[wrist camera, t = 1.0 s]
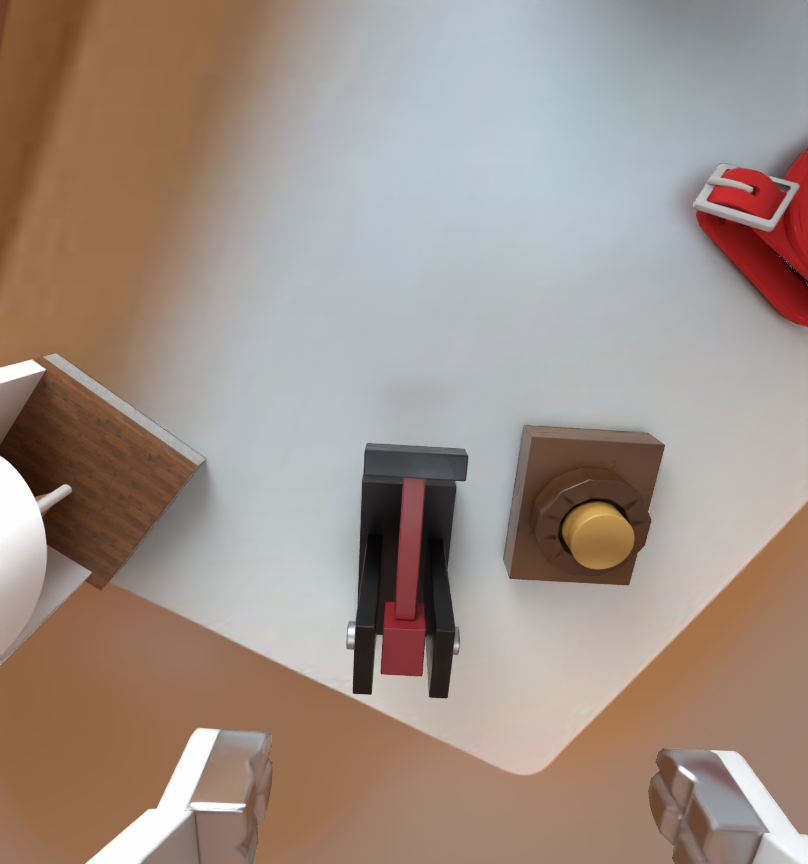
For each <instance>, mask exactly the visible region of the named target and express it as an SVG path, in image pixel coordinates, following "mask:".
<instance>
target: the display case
mask: <svg viewBox="0 0 808 864" xmlns="http://www.w3.org/2000/svg"><path fill="white" fill-rule="evenodd" d="M204 460H205V458H204V457H202V456H201V455H199V454H198V453H197V452H195V451H194V450H192V449H191V448H189V447H188V446H187V445H185V444H184V443H182V442H181V441H180V440H178V439H177V438H175V437H174V436H173V435H171V434H170V433H168V432H167V431H165V430H164V429H163V428H161V427H160V426H158V425H157V424H156V423H154V422H153V421H151V420H150V419H148V418H147V417H146V416H144V415H143V414H141V413H140V412H139V411H137V410H136V409H134V408H133V407H132V406H130V405H129V404H127V403H126V402H124V401H123V400H122V399H120V398H119V397H117V396H116V395H115V394H113V393H112V392H110V391H109V390H107V389H106V388H105V387H103V386H102V385H100V384H99V383H98V382H96V381H95V380H93V379H92V378H91V377H89V376H88V375H86V374H85V373H83V372H82V371H81V370H79V369H78V368H76V367H75V366H74V365H72V364H71V363H69V362H68V361H67V360H65V359H64V358H62V357H61V356H59V355H58V354H57V353H56V354H52V355H48V356H44V357H41V358H37V359H33V360H29V361H25V362H21V363H17V364H13V365H9V366H6V367H2V368H0V665H1V664H2V663H3V662H4V661H5V660H6V659H7V658H8V657H9V656H10V655H11V654H12V653H13V652H14V651H15V650H16V649H17V648H18V647H19V646H20V645H21V644H22V643H23V642H24V641H25V640H26V639H27V638H28V637H29V636H30V635H31V634H33V633H34V631H36V630H37V629H38V627H40V626H41V624H43V622H45V621H46V620H47V619H48V618H49V617H50V616H51V614H53V612H55V611H56V610H57V609H58V608H59V607H60V606H61V605H62V604H63V602H65V601H66V600H67V599H68V598H69V597H70V596H71V595H72V594H73V593H74V592H75V591H76V590H77V589H78V588H79V587H80V586H81V585H82V584H83V583H84V582H85V581H86V582H88V583H90V584H91V585H93V586H95V587H96V588H98V589H100V590H102V589H103V588H104V587H105V586H106V585H107V584H108V583H109V581H110V580H111V579H112V578H113V577H114V576H115V575H116V574H117V573H118V572H119V570H120V569H121V568H122V567H123V565H124V564H125V563H126V561H127V560H128V559H129V557H130V556H131V555H132V554H133V552H134V551H135V550H136V548H137V547H138V546H139V544H140V543H141V542H142V541H143V539H144V538H145V537H146V535H147V534H148V533H149V531H150V530H151V529H152V528H153V526H154V525H155V524H156V522H157V521H158V520H159V519H160V517H161V516H162V515H163V513H164V512H165V511H166V509H167V508H168V507H169V506H170V504H171V503H172V502H173V500H174V499H175V498H176V496H177V495H178V494H179V493H180V491H181V490H182V489H183V487H184V486H185V485H186V483H187V482H188V481H189V480H190V478H191V477H192V476H193V474H194V473H195V472H196V471H197V469H198V468H199V467H200V465H201V464H202V463H203V461H204Z"/></svg>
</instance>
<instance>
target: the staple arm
mask: <svg viewBox="0 0 808 864" xmlns="http://www.w3.org/2000/svg"><path fill="white" fill-rule="evenodd" d="M467 465H468V455H467V453H466V451H465V449H458V448H441V447H424V446H407V445H391V444H374V443H367V444H366V448H365V456H364V475H366V476H383V477H401V478H403V488H402V503H401V518H400V534H399V549H398V564H397V580H396V595H395V602H385V609H384V625H383V642H382V658H381V674H385V675H405V676H422V673H423V661H424V649H425V636H426V624H425V611H424V604H419V603H416V601H417V588H418V575H419V562H420V549H421V536H422V523H423V510H424V497H425V484H426V479H435V480H452V481H466V475H467Z"/></svg>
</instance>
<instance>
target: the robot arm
mask: <svg viewBox="0 0 808 864" xmlns="http://www.w3.org/2000/svg"><path fill="white" fill-rule="evenodd" d="M271 747H272V741H271V733H265V732H251V731H238V730H224V729H222V730H221V729H205V728H197V729H196V731H195V732H194V733H193V734H192V735H191V737H190V739H189V741H188V744H187V746H186V748H185V750H184V752H183V754H182V756H181V758H180V760H179V763H178V765H177V767H176V769H175V771H174V773H173V775H172V777H171V779H170V781H169V784H168V786H167V788H166V790H165V792H164V794H163V796H162V798H161V801H160V802H159V805H158V807H157V809H148V810H147V811H146V812H145V813H144V814H142V815H141V816H140V817H139V818H138V819H137V820H135V821H134V822H133V823H132V824H131V825H130V826H128V827H127V828H126V829H125V830H124V831H123V832H122V833H120V834H119V835H118V836H117V837H116V838H115V839H114V840H112V841H111V842H110V843H109V844H108V845H106V847H104V848H103V849H102V850H101V851H100V852H98V853H97V854H96V855H95V856H94V857H93V858H91V859H90V860H89V861H88V862H87V863H86V864H253V860H254V856H255V852H256V849H257V845H258V824H259V823H260V822H261V821H262V820H263V819H264V818H265V814H266V810H267V806H268V802H269V796H270V790H271V785H272V762H271V761H270V759H269V754H270V750H271ZM656 763H657V765H658V767H659V769H660V771H659V772H658V773H657V774H655V775H654V776H653V777H652V778H651V781H650V786H649V801H650V807H651V811H652V814H653V818H654V820H655V822H656V825H657V827H658V829H659V831H660V833H661V834H662V835H663V836H664V837H665V838H666V839H667V840H668V841H669V842H670V843H671V844H672V845H673V846H674V850H673V857H672V859H673V861H674V863H675V864H808V835H802V834H798V832H797V831H796V830H795V828H794V827H793V826H792V825H791V823H790V821H789V820H788V818H787V817H786V816H785V815H784V813H783V812H782V810H781V809H780V808H779V806H778V805H777V804H776V802H775V801H774V799H773V798H772V797H771V795H770V794H769V792H768V791H767V790H766V788H765V787H764V786H763V784H762V783H761V781H760V780H759V779H758V777H757V776H756V775H755V773H754V772H753V771H752V769H751V768H750V766H749V765H748V764H747V762H746V761H745V759H744V758H743V757H742V756H741V755H740V754H738V753H737V752H736V751H716V750H710V751H709V750H701V749H699V750H698V749H664V748H663V749H662V750H661V751H659V752H658V755H657V759H656Z"/></svg>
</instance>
